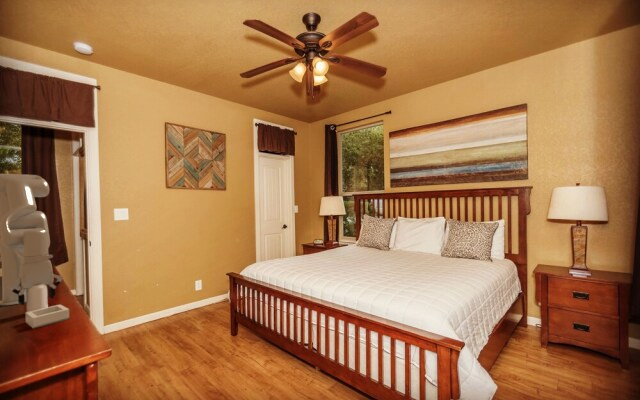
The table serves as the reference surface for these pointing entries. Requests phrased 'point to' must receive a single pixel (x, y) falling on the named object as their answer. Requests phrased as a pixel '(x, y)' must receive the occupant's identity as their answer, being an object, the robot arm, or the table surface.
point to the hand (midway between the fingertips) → (37, 300)
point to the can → (37, 297)
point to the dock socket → (47, 316)
